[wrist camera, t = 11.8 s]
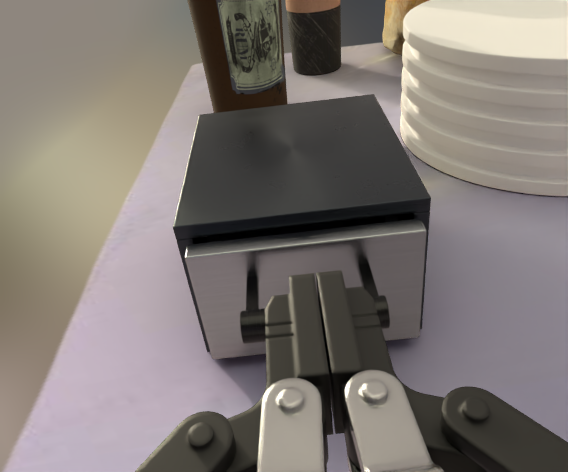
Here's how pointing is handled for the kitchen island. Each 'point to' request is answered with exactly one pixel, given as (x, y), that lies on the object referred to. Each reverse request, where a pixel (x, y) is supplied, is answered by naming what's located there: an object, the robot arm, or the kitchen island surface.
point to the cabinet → (295, 172)
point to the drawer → (304, 260)
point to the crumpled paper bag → (396, 22)
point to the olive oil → (241, 52)
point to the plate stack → (489, 91)
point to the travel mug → (314, 35)
